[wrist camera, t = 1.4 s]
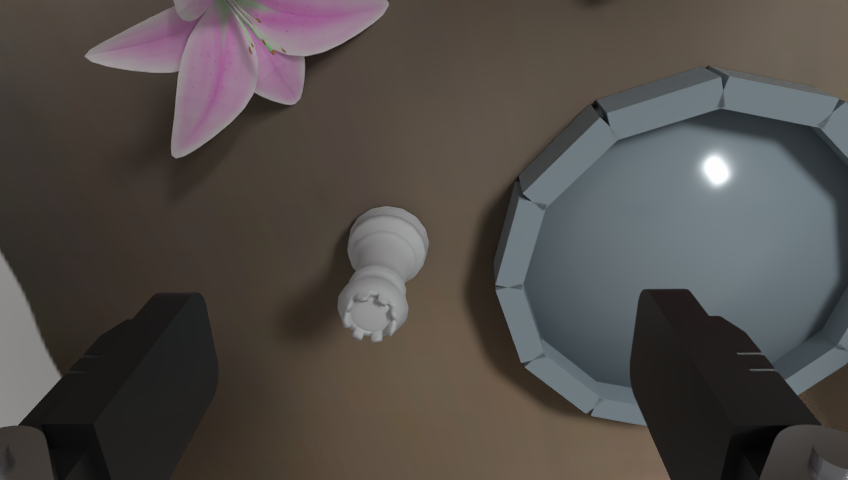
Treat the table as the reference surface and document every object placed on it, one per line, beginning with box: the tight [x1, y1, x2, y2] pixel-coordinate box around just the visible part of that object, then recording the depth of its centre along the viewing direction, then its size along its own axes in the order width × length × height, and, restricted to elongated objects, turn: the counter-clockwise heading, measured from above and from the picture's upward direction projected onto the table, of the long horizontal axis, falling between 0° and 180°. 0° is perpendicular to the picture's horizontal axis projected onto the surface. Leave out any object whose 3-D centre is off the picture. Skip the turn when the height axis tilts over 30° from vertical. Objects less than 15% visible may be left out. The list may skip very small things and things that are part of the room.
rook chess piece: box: [337, 206, 429, 343], centre depth 30 cm, size 4×4×8 cm
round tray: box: [493, 66, 848, 426], centre depth 32 cm, size 20×20×2 cm
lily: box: [85, 0, 389, 158], centre depth 25 cm, size 12×12×10 cm
